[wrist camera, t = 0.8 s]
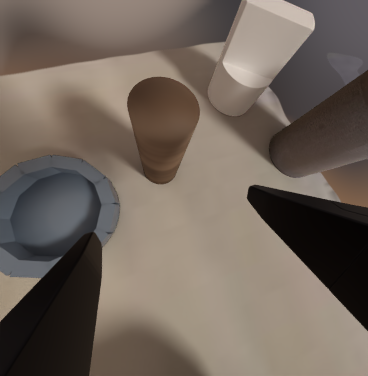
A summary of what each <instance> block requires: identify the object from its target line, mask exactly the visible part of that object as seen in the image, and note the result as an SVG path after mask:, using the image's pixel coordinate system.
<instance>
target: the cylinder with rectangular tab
mask: <svg viewBox="0 0 368 376" xmlns="http://www.w3.org/2000/svg"><path fill="white" fill-rule="evenodd" d="M314 27H315V22H314V17H313V14H312V13H310V12H308V11H306V10H304V9H301V8H299V7H297V6H295V5H292V4H290V3H288V2H286V1H283V0H242V2H241V4H240V7H239V9H238V12H237V15H236V17H235V20H234V22H233V25H232V28H231V30H230V33H229V35H228V38H227V40H226V43H225V45H224V48H223V50H222V53H221V56H220V58H219V61H218V63H217V66H216V68H215V71H214V74H213V76H212V79H211V81H210V84H209V87H208V97H209V100H210V102H211V103H212V105H213V106H214V107H215V108H216V109H217V110H218V111H220V112H221V113H223V114H226V115H229V116H240V115H243V114H244V113H245V112H247V111H248V110H249V108H250V107H251V106H252V105H253V104H254V102H255V101H256V100H257V99H258V98H259V96H260V95H261V94H262V93H263V92H264V90H265V89H266V88H267V87H268V86H269V84H270V83H271V82H272V80H273V78H274V77H275V76H276V75H277V74H278V73H279V71H280V70H281V69H282V68H283V67H284V65H285V64H286V63H287V62H288V61H289V59H290V58H291V57H292V56H293V54H294V53H295V52H296V51H297V50H298V48H299V47H300V46H301V45H302V44H303V42H304V41H305V40H306V39H307V38H308V36H309V35H310V34H311V33H312V32H313V30H314Z"/></svg>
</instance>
